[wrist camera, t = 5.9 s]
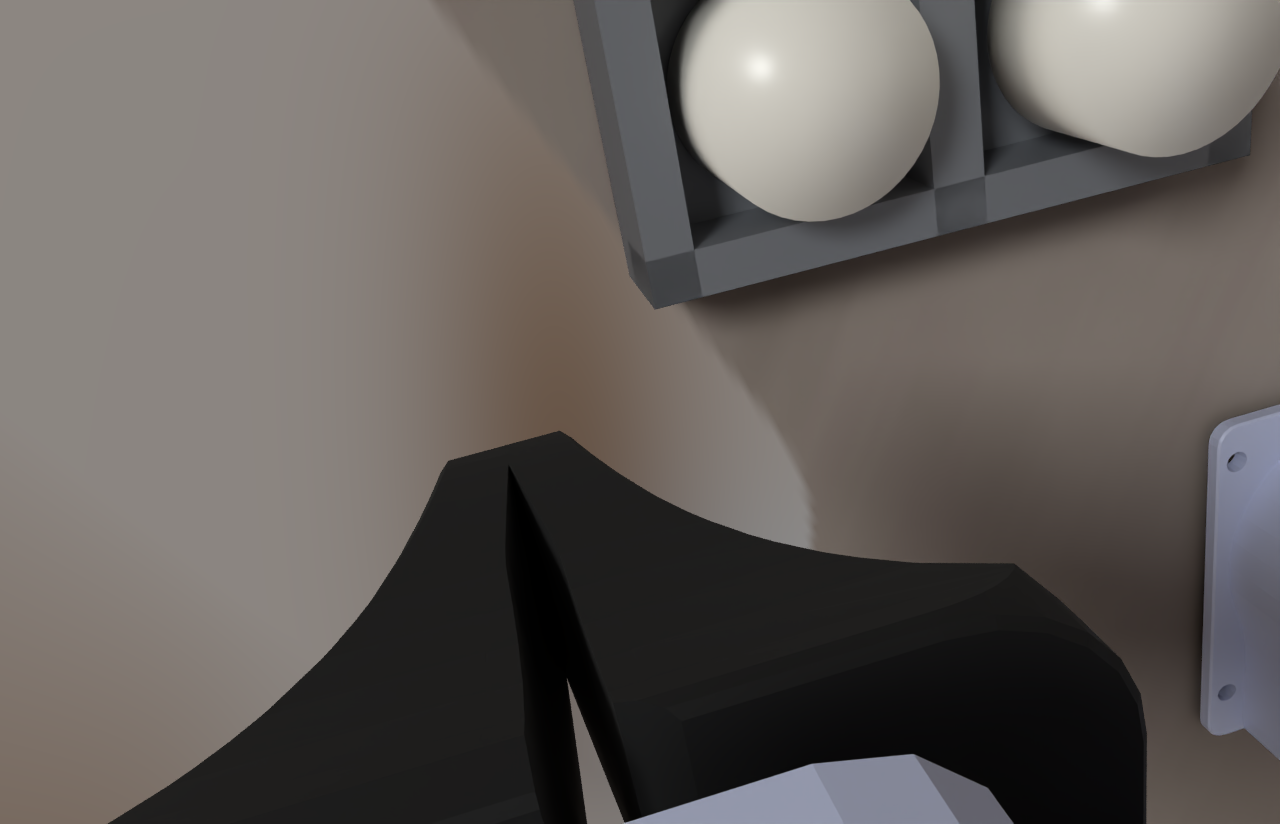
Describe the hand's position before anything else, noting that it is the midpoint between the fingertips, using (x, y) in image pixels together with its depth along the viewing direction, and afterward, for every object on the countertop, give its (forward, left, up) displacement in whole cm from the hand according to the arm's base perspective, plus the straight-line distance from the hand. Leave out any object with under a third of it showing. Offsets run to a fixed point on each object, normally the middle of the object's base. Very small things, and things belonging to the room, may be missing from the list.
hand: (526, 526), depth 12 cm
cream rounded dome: (+2, -12, -8) cm, 15 cm away
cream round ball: (+2, -6, -10) cm, 12 cm away
